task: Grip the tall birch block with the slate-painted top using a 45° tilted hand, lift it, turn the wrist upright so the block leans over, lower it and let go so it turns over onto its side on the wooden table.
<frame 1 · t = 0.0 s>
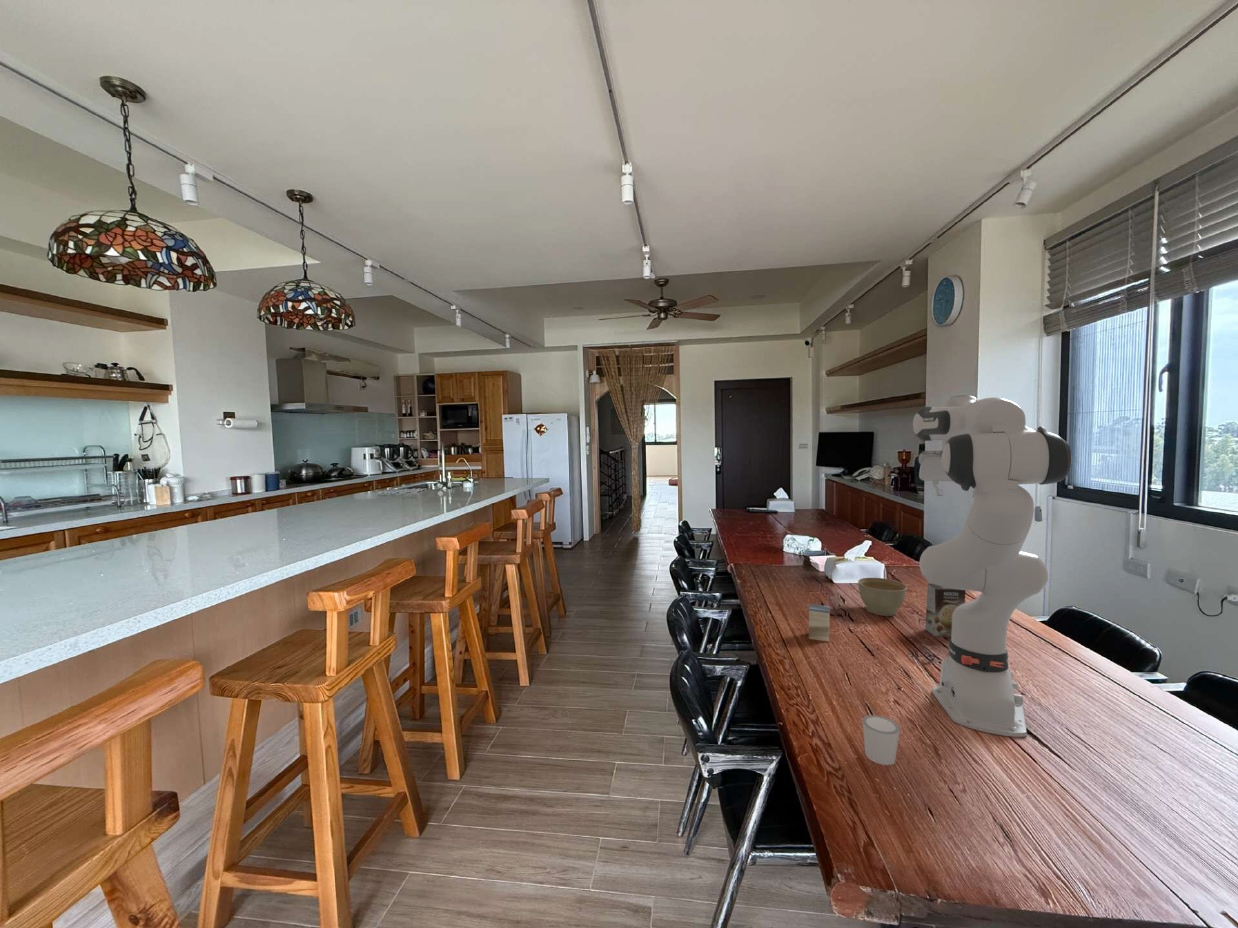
hand: (957, 496, 150), 48 cm above the table, tool pointing down, fingers open, 8 cm apart
coffee box: (944, 633, 166), on the table
planter bowl: (881, 612, 187), on the table
birch block: (818, 637, 164), on the table
shot glass: (880, 757, 104), on the table
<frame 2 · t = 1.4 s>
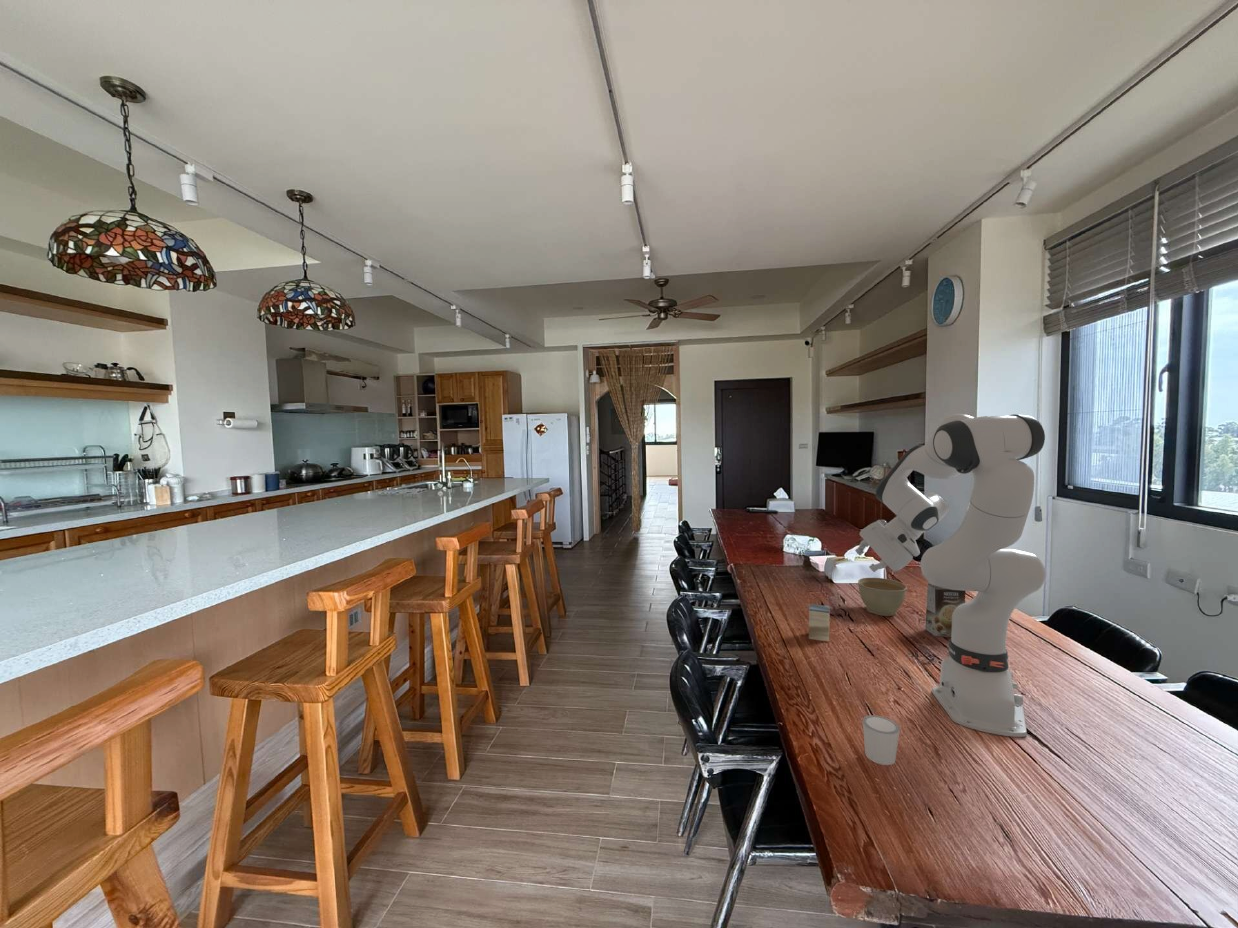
hand: (864, 561, 162), 26 cm above the table, tool tilted 45°, fingers open, 8 cm apart
nothing on the table moved.
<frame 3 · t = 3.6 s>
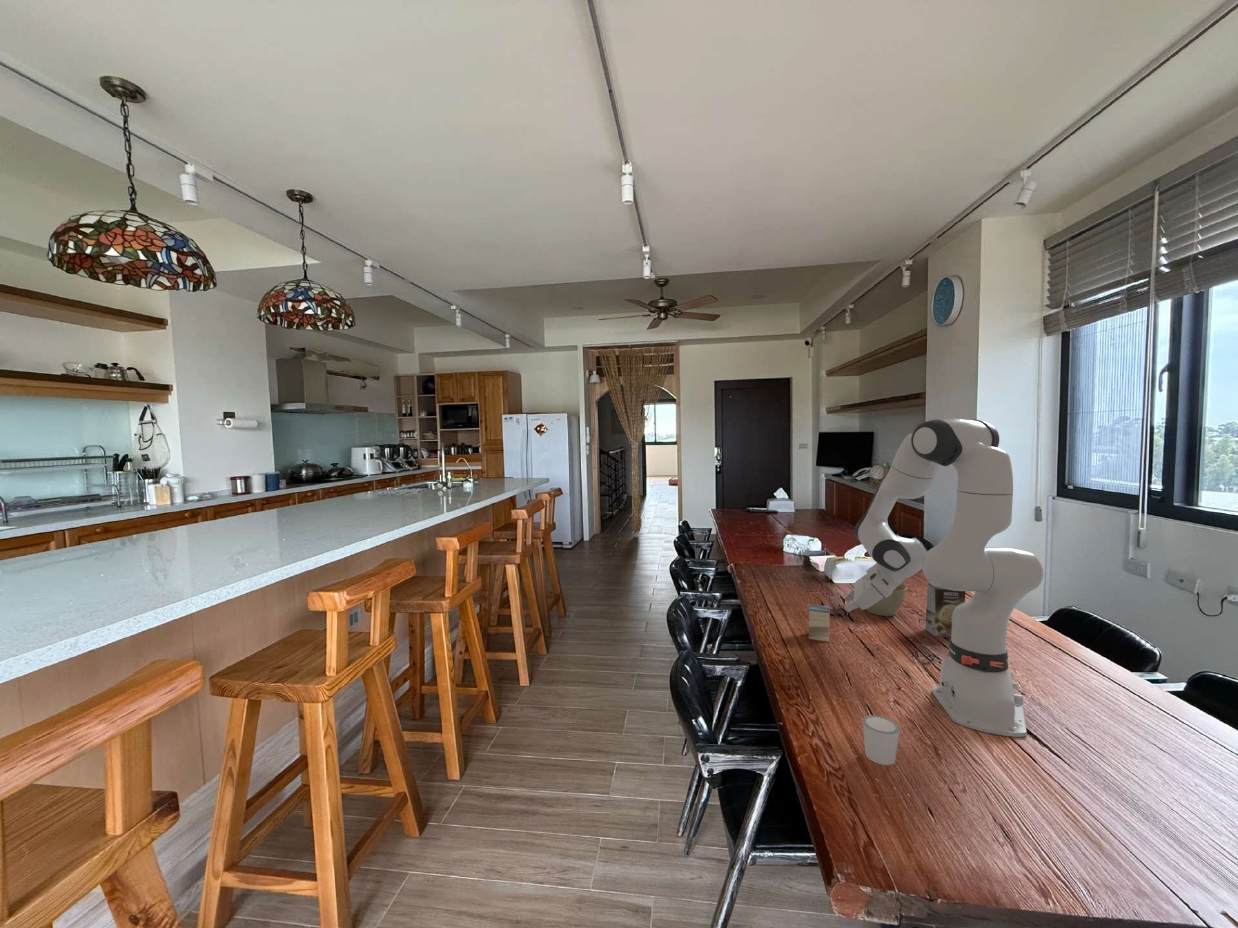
hand: (846, 604, 161), 12 cm above the table, tool tilted 45°, fingers open, 8 cm apart
nothing on the table moved.
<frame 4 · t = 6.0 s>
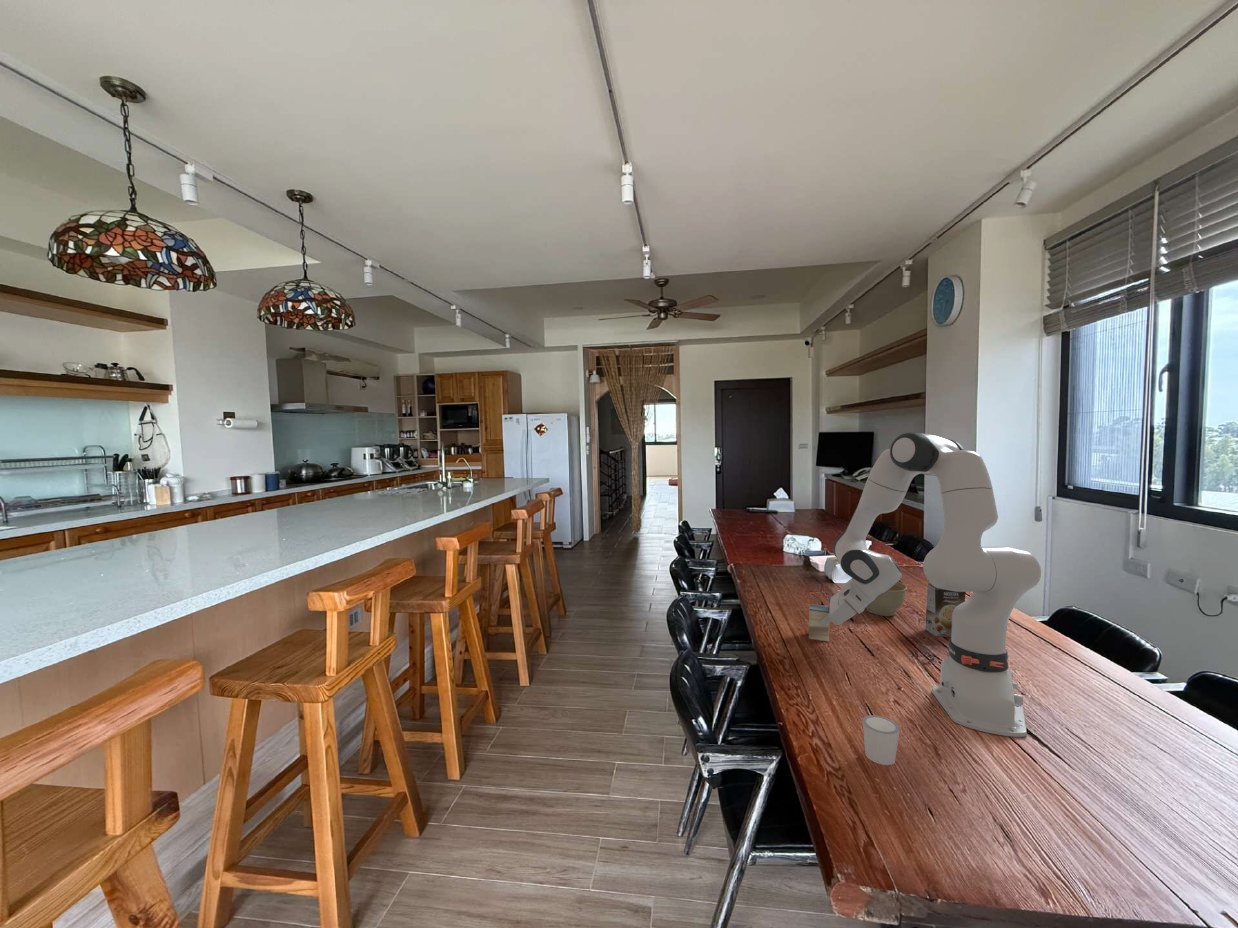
hand: (821, 619, 164), 6 cm above the table, tool tilted 45°, fingers closed on birch block, 5 cm apart
birch block: (818, 636, 164), on the table, touching gripper
everything else where it was.
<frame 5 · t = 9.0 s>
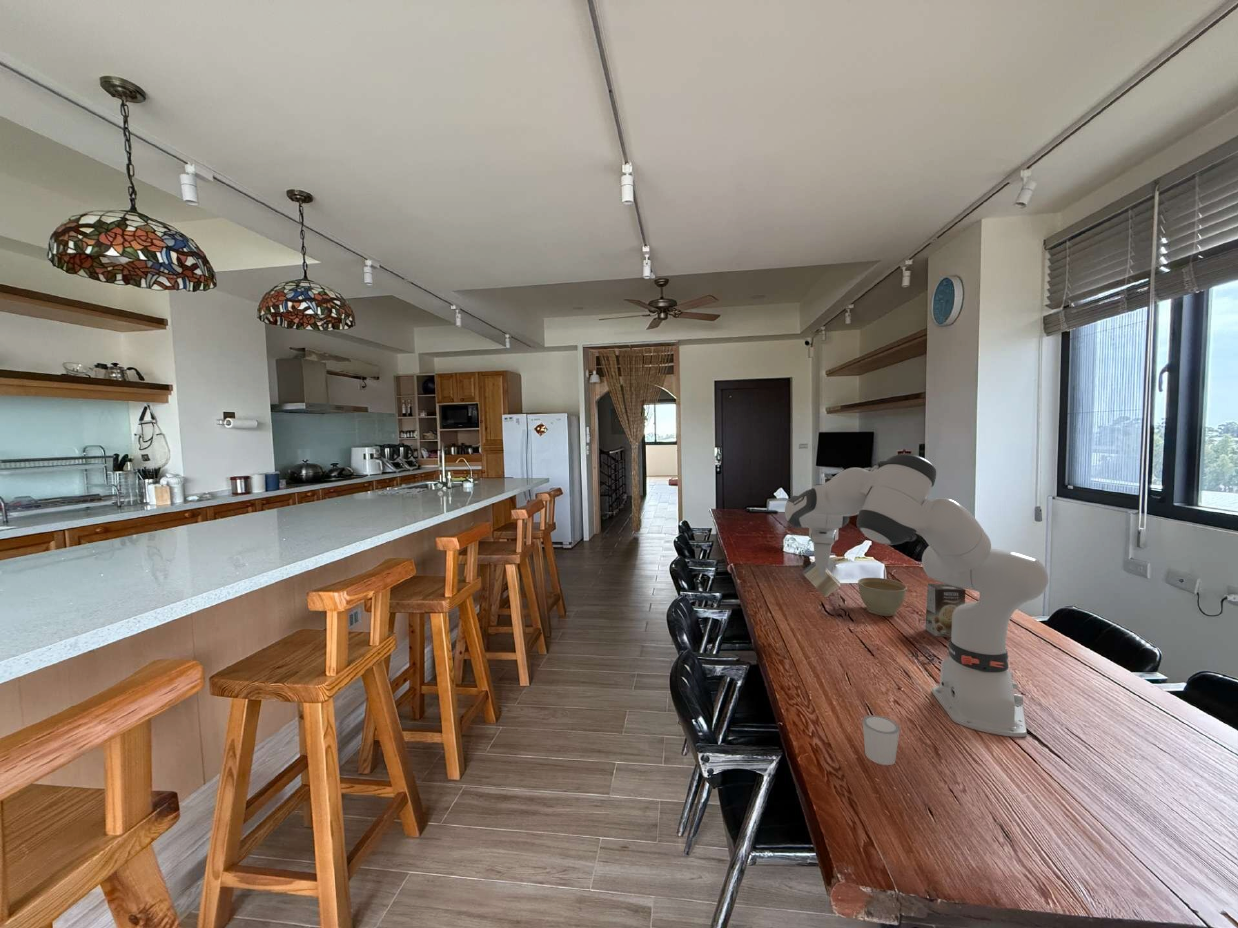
hand: (822, 574, 162), 21 cm above the table, tool pointing down, fingers closed on birch block, 5 cm apart
birch block: (832, 589, 162), point 16 cm above the table, tilted 44°, touching gripper
everything else where it was.
when the fingers open (8 cm above the table, at t = 12.2 s): birch block moves 2 cm and tips over, point 3 cm above the table.
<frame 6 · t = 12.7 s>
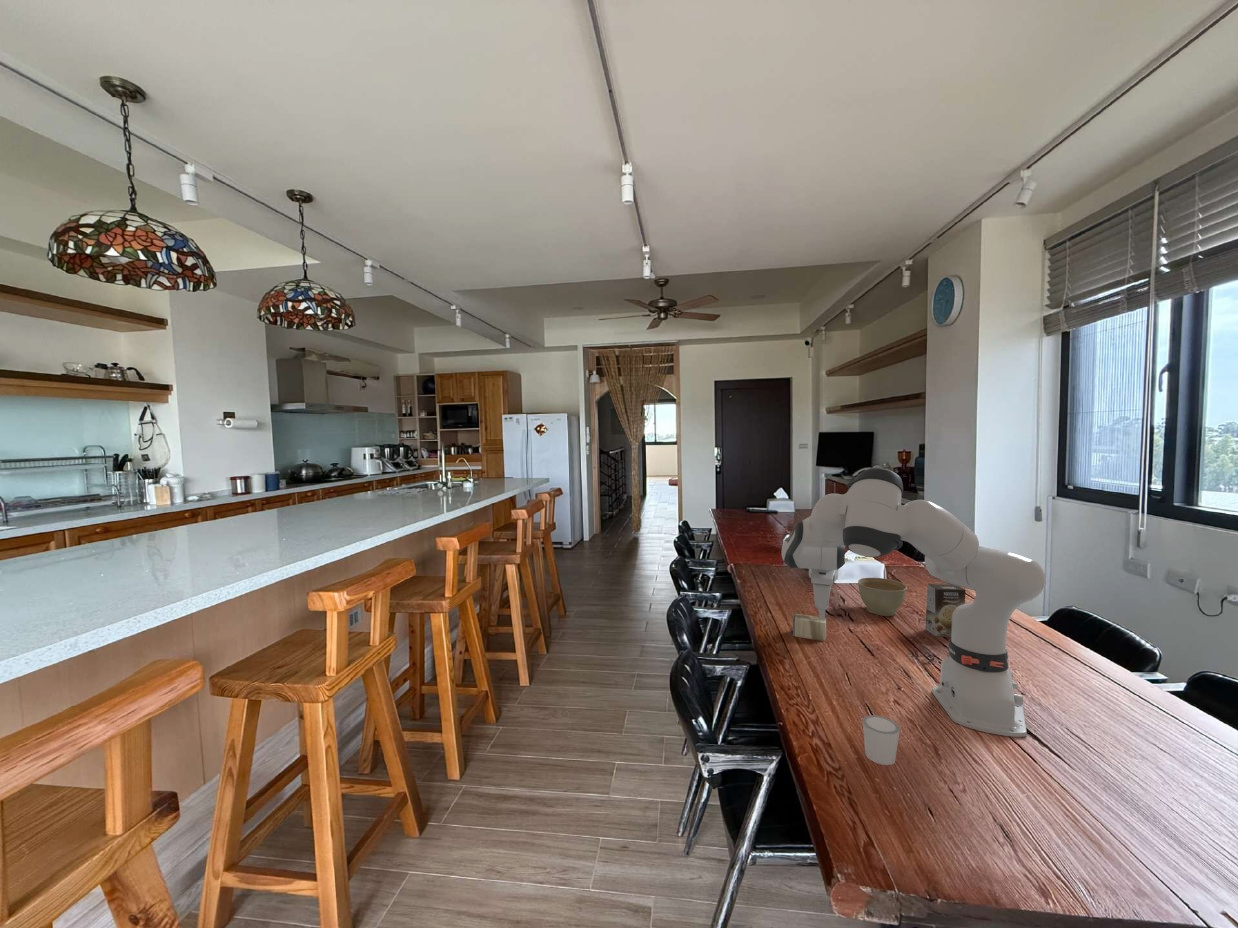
hand: (822, 613, 163), 8 cm above the table, tool pointing down, fingers open, 8 cm apart
birch block: (825, 629, 163), point 3 cm above the table, tilted 90°
everything else where it was.
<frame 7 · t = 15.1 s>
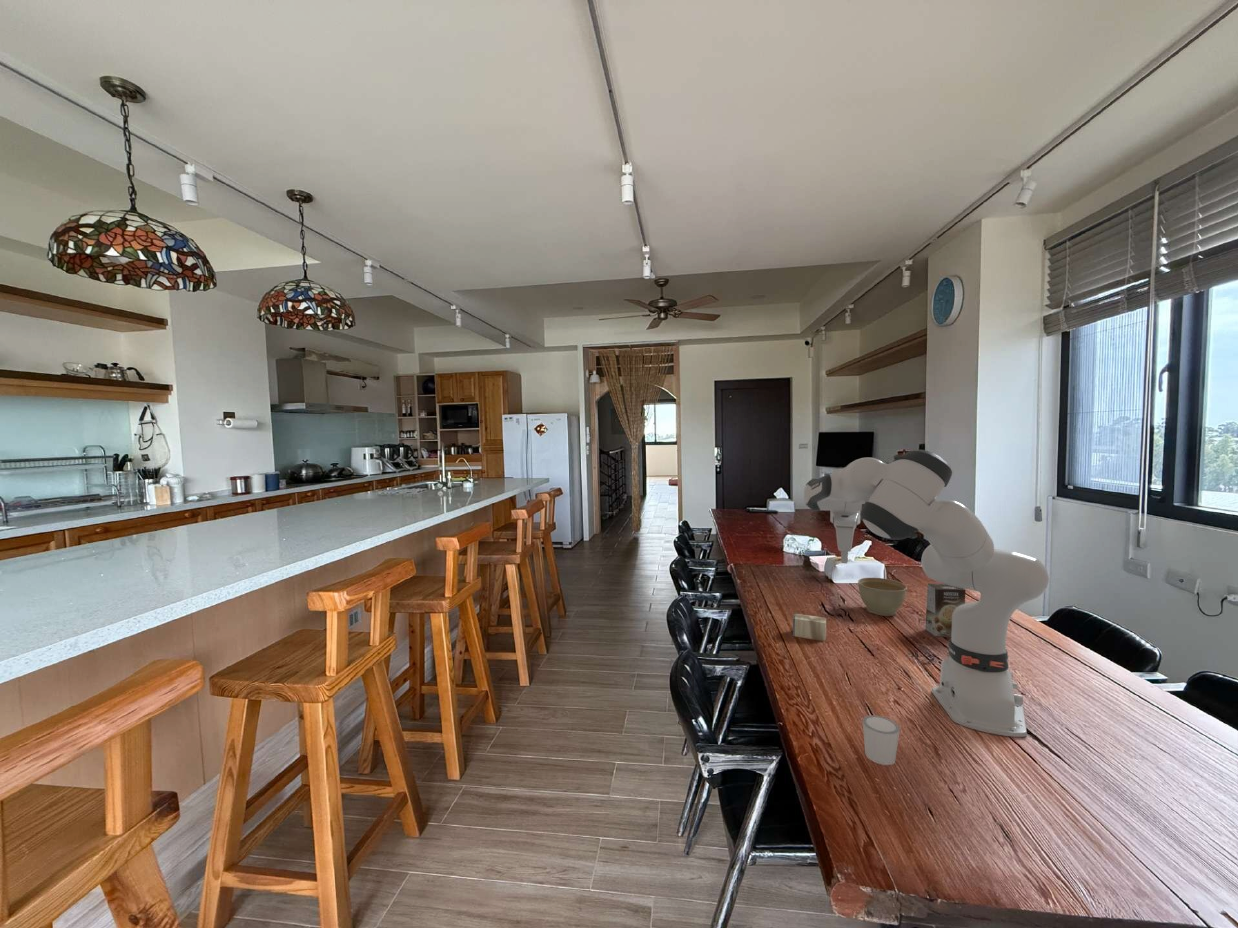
hand: (844, 559, 161), 26 cm above the table, tool pointing down, fingers open, 8 cm apart
nothing on the table moved.
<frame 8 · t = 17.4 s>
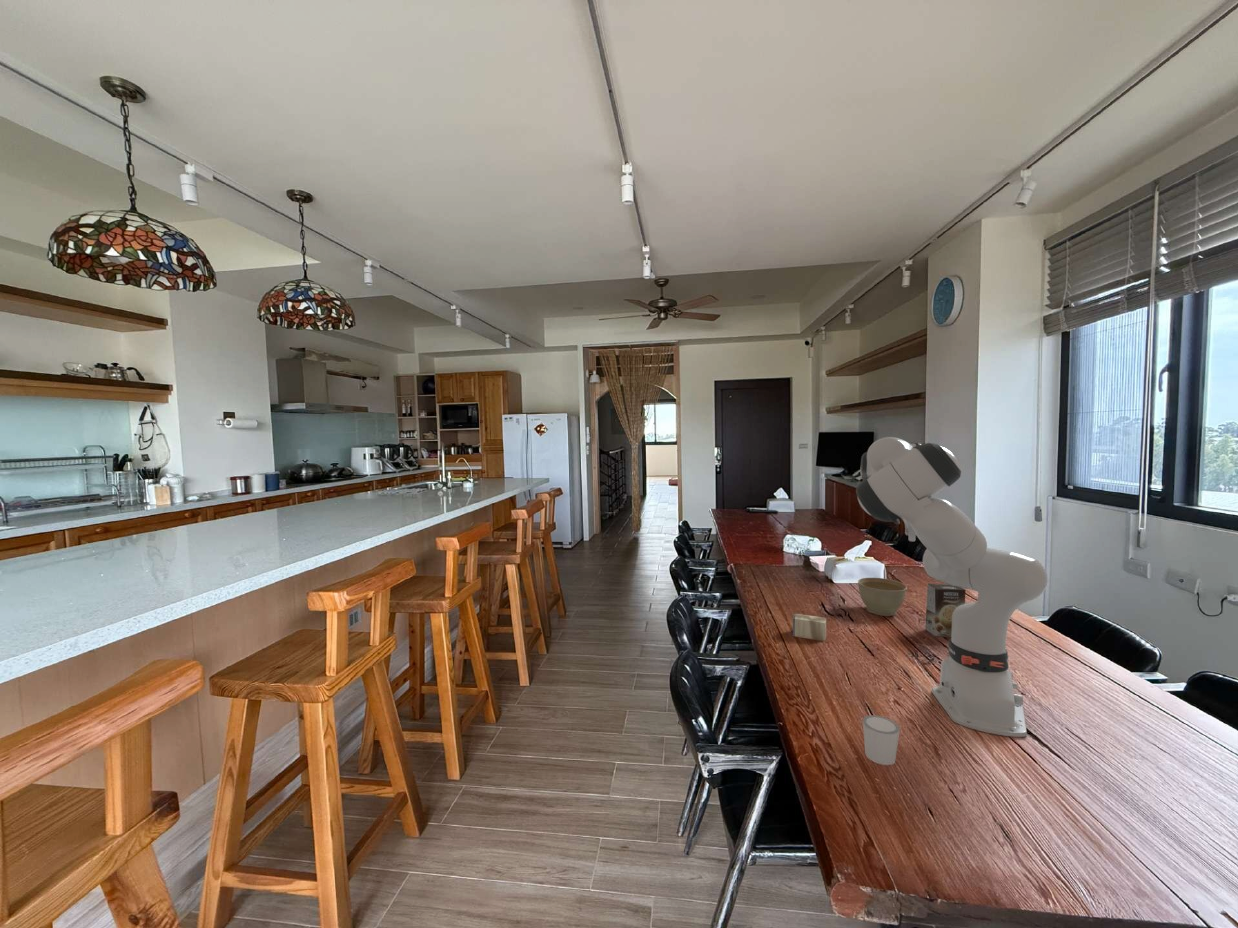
hand: (910, 537, 157), 34 cm above the table, tool pointing down, fingers open, 8 cm apart
nothing on the table moved.
at the end: birch block tilted 90°; birch block inside the target area (1.6 cm from its centre), point 2.9 cm above the table; the gripper is holding nothing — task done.
